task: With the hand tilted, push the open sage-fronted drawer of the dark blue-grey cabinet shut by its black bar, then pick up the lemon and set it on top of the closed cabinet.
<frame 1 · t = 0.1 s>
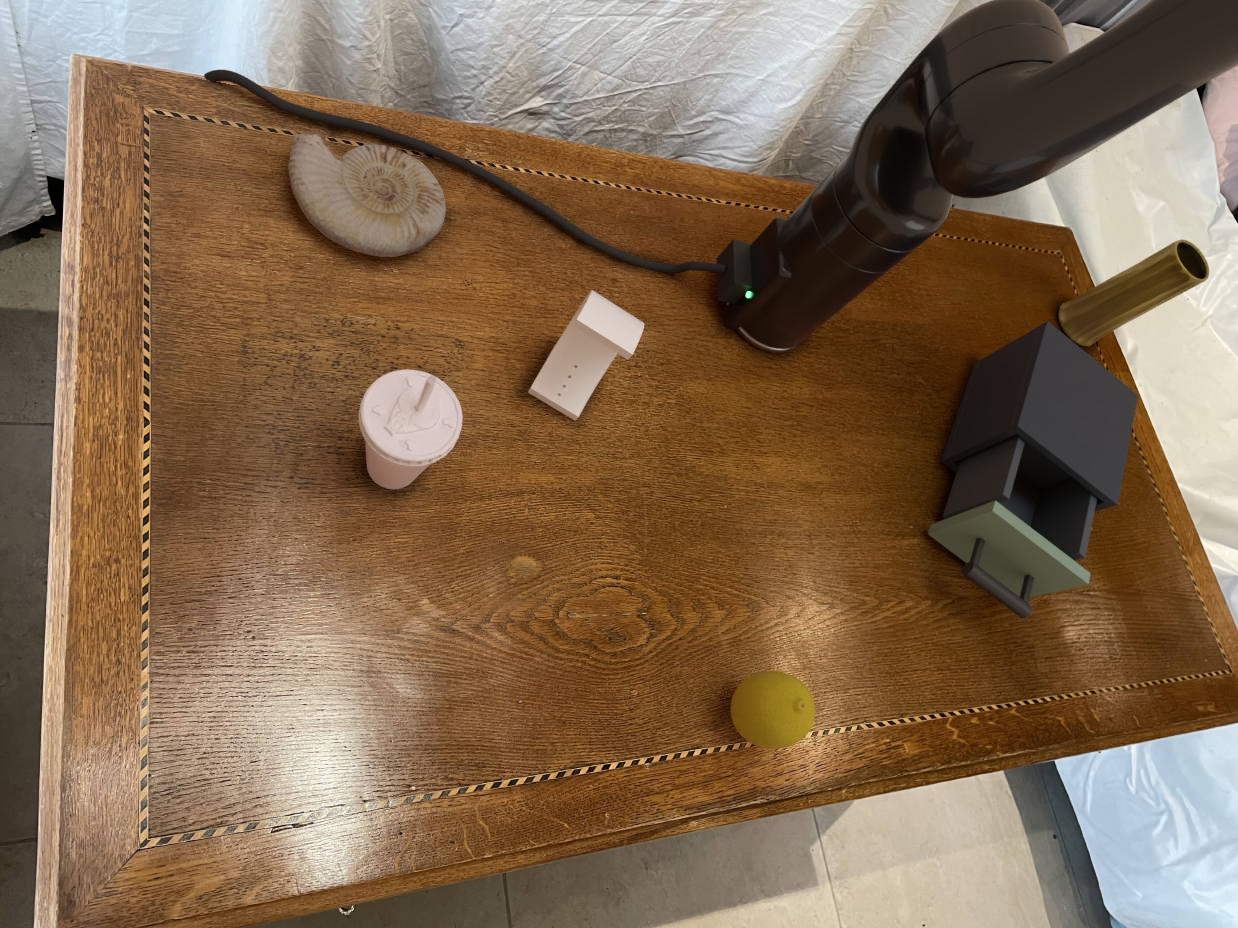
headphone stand: (565, 380, 66), on the table
lemon: (742, 712, 62), on the table
smoothie: (392, 466, 58), on the table
cabinet: (1001, 445, 84), on the table
fossil: (367, 211, 65), on the table
drawer: (1015, 518, 74), point 5 cm above the table, slide at 8.0 cm
vase: (1074, 325, 97), on the table
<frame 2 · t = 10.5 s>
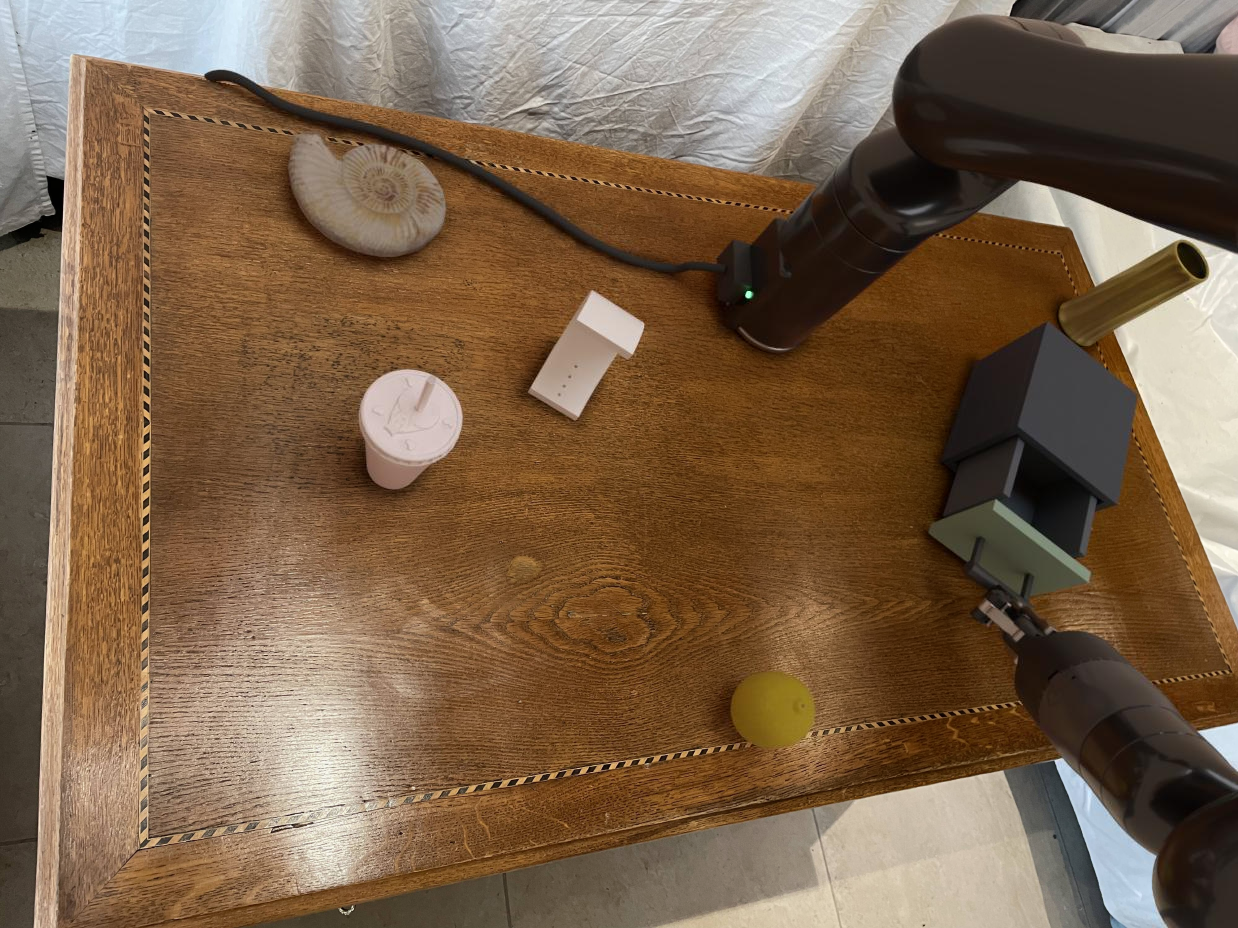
hand: (995, 596, 70), 5 cm above the table, tool tilted 45°, fingers closed
drawer: (1016, 517, 74), point 5 cm above the table, slide at 7.9 cm, touching gripper
everything else where it was.
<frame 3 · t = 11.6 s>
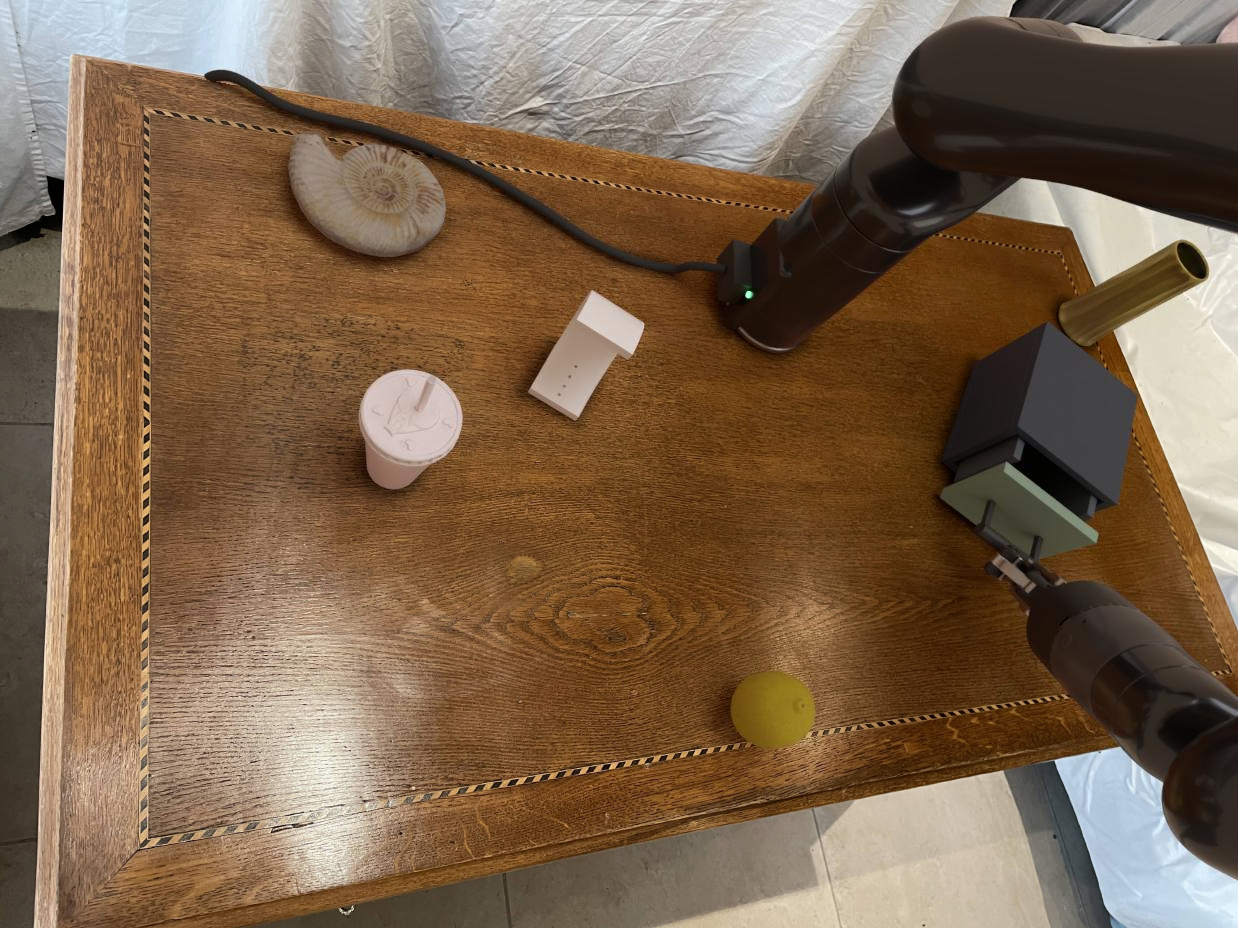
hand: (1005, 556, 72), 5 cm above the table, tool tilted 45°, fingers closed
drawer: (1025, 482, 76), point 5 cm above the table, slide at 3.5 cm, touching gripper
everything else where it was.
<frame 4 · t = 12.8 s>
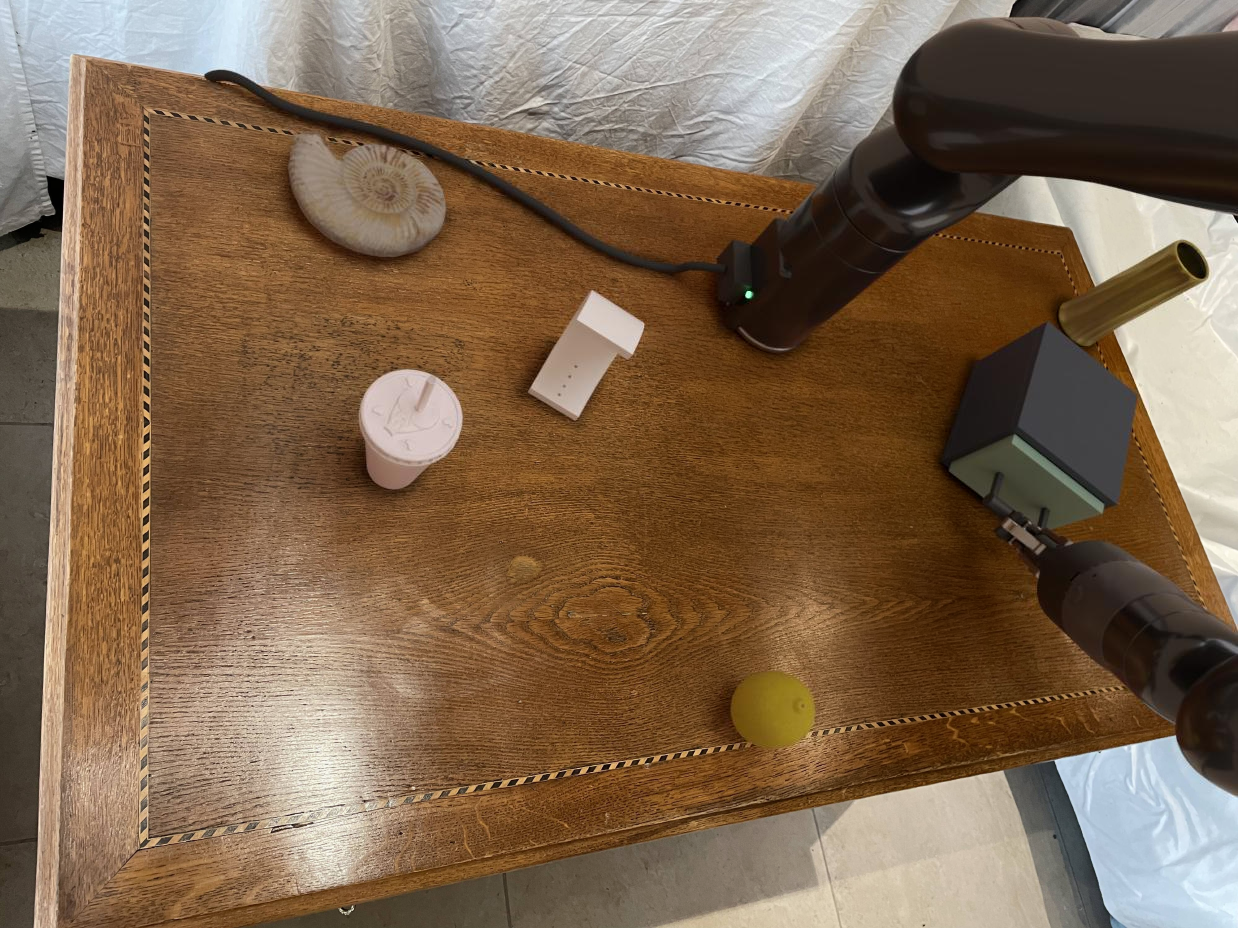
hand: (1013, 526, 74), 5 cm above the table, tool tilted 45°, fingers closed
drawer: (1032, 456, 78), point 5 cm above the table, slide at 0.0 cm, touching cabinet, gripper
everything else where it was.
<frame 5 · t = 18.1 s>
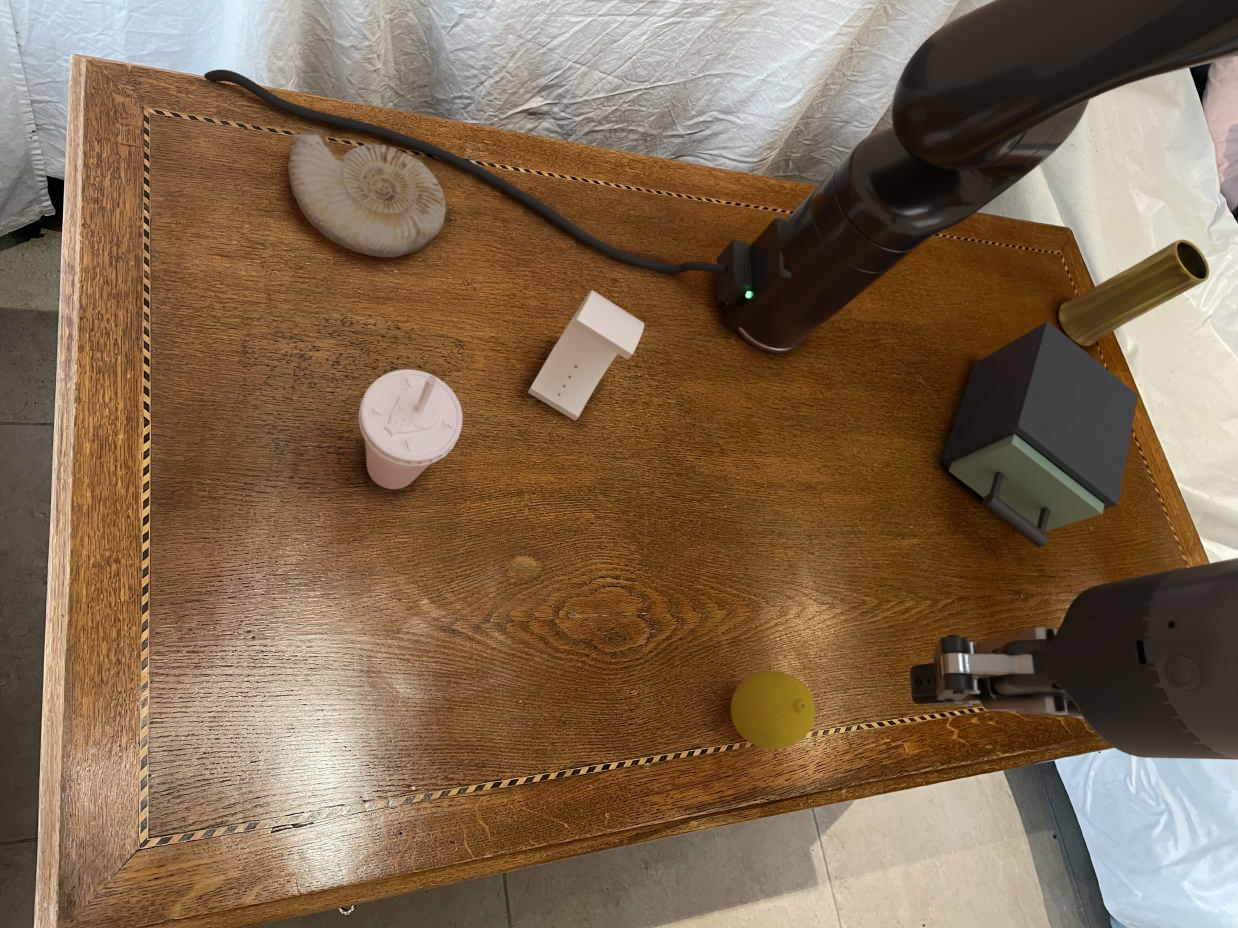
hand: (920, 685, 47), 19 cm above the table, tool pointing down, fingers closed
drawer: (1032, 456, 78), point 5 cm above the table, slide at 0.0 cm
everything else where it was.
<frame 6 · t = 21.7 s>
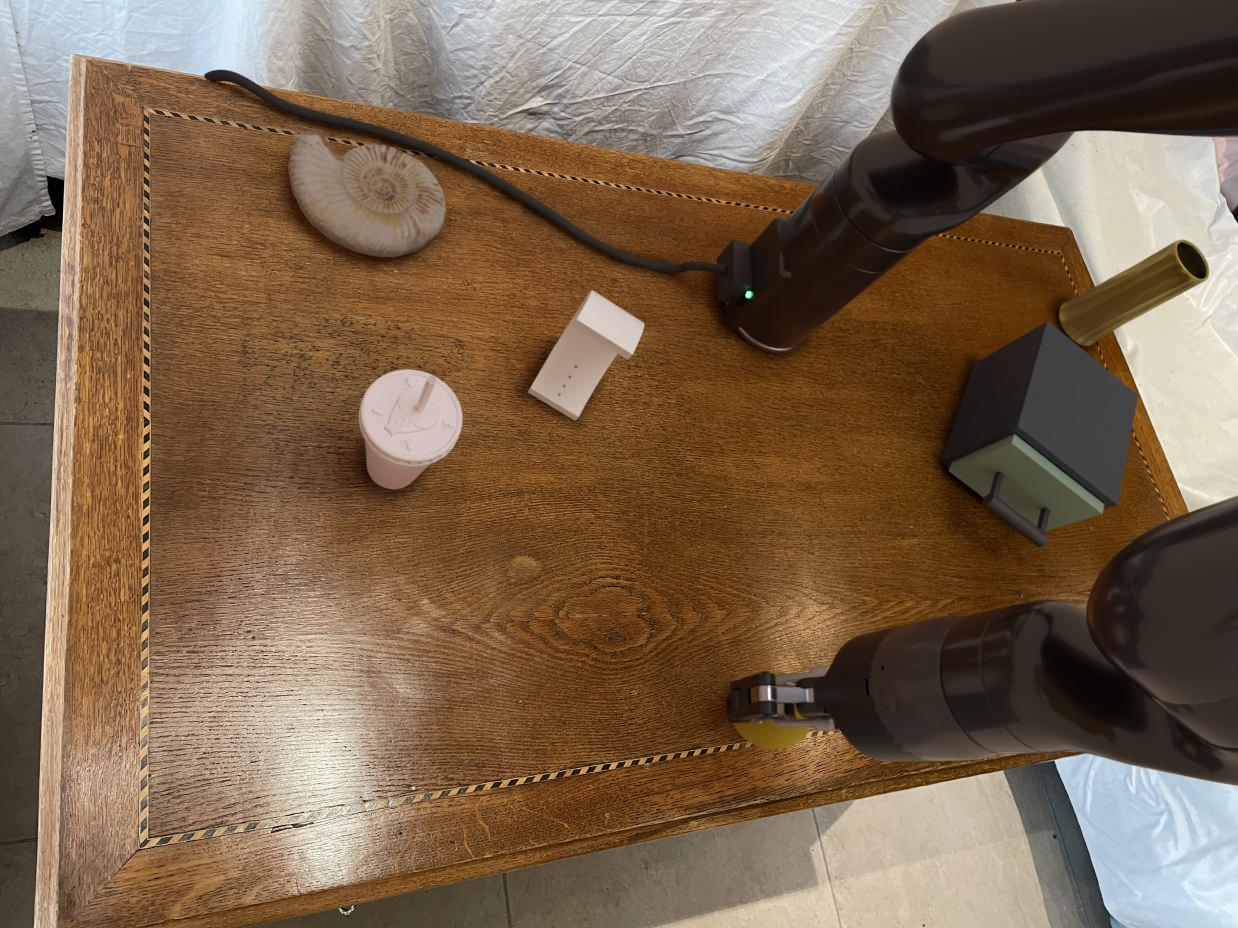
hand: (767, 709, 59), 4 cm above the table, tool pointing down, fingers closed on lemon, 5 cm apart
lemon: (742, 712, 62), on the table, touching gripper
everything else where it was.
when the fingers open (13 cm above the table, at t = 29.6 s): lemon stays where it is, resting on cabinet.
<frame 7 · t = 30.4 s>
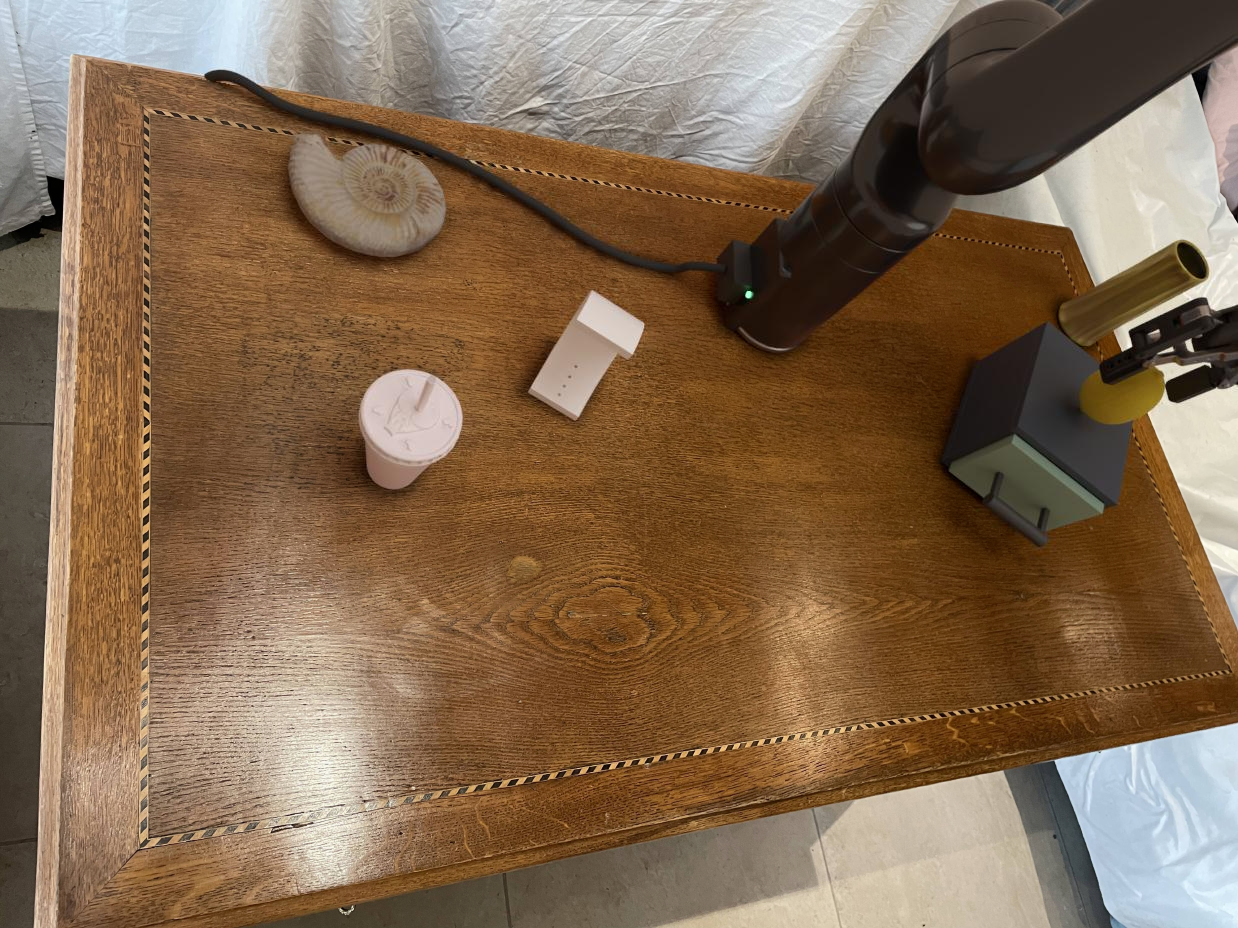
hand: (1136, 384, 71), 15 cm above the table, tool pointing down, fingers open, 8 cm apart
lemon: (1079, 410, 76), point 9 cm above the table, touching cabinet
everything else where it was.
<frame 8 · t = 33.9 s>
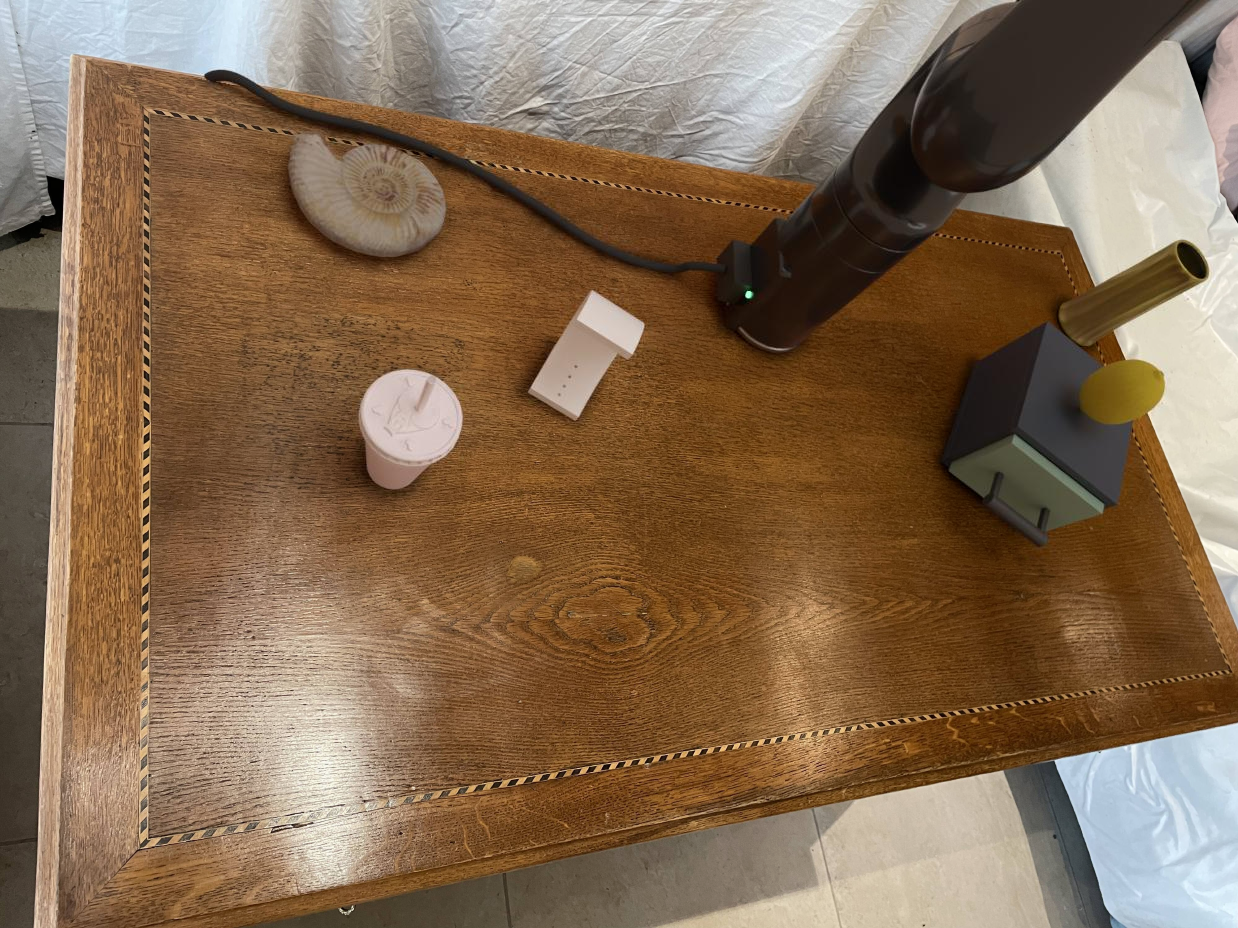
nothing on the table moved.
at the end: drawer slide at 0.0 cm; lemon inside the target area on the cabinet (0.0 cm from its centre), point 9.4 cm above the cabinet's base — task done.
